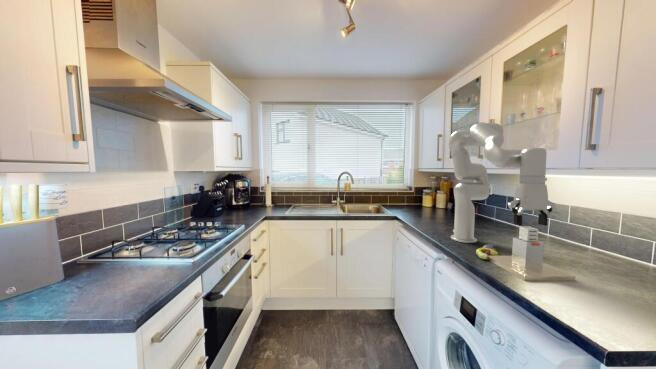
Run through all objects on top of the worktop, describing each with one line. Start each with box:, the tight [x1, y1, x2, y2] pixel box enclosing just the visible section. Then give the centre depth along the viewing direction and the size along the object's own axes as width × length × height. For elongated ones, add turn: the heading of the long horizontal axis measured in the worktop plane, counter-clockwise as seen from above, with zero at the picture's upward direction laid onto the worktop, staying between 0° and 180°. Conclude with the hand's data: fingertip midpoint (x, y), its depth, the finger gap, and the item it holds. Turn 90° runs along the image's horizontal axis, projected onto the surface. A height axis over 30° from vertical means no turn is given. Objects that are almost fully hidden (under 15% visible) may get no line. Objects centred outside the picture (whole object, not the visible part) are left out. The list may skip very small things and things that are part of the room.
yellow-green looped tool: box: [475, 243, 499, 260], centre depth 112 cm, size 8×3×25 cm
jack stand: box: [486, 237, 576, 282], centre depth 94 cm, size 20×18×12 cm
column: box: [518, 225, 539, 242], centre depth 94 cm, size 4×4×15 cm
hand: (530, 224), depth 93 cm, fingers open, 9 cm apart
